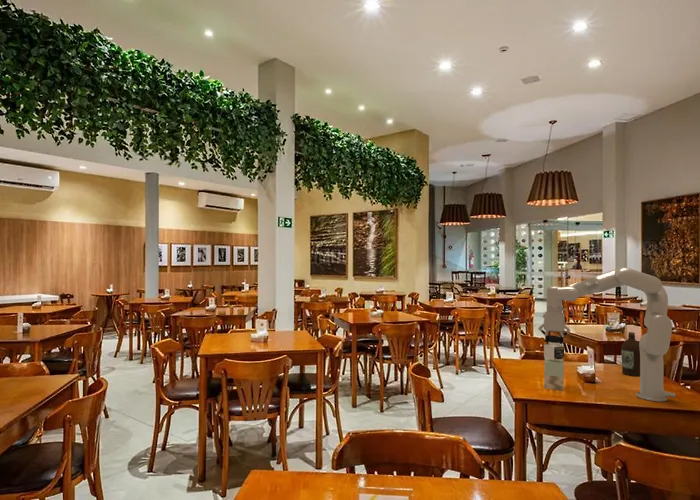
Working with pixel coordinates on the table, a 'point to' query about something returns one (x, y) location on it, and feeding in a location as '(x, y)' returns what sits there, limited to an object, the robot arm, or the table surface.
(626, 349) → the olive oil
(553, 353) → the medicine bottle
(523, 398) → the table surface
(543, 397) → the table surface
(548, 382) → the bottom block
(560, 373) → the top block
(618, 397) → the table surface
